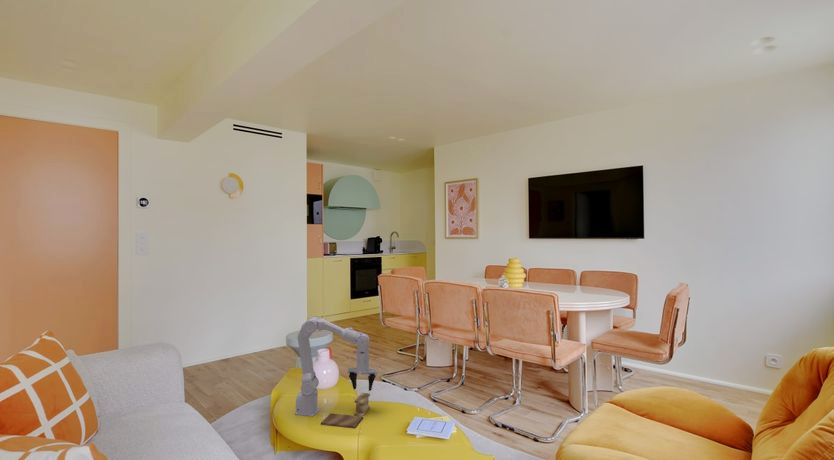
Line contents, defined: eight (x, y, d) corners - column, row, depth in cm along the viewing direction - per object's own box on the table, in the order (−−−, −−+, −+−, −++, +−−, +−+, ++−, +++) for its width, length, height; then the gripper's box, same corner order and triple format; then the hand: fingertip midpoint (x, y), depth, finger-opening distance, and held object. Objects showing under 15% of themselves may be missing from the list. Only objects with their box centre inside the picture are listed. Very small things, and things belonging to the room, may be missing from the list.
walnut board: (320, 424, 173) (320, 422, 173) (330, 415, 183) (330, 413, 183) (355, 428, 170) (355, 426, 170) (363, 418, 180) (363, 416, 180)
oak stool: (354, 415, 183) (354, 400, 183) (361, 407, 192) (362, 392, 193) (362, 416, 182) (362, 401, 182) (369, 408, 192) (369, 393, 192)
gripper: (345, 361, 186) (344, 391, 185) (374, 363, 182) (374, 393, 182) (350, 357, 192) (350, 385, 192) (379, 359, 189) (379, 388, 189)
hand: (362, 389), depth 187 cm, fingers open, 7 cm apart
